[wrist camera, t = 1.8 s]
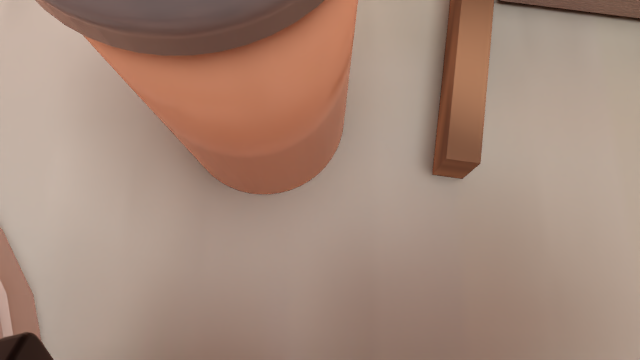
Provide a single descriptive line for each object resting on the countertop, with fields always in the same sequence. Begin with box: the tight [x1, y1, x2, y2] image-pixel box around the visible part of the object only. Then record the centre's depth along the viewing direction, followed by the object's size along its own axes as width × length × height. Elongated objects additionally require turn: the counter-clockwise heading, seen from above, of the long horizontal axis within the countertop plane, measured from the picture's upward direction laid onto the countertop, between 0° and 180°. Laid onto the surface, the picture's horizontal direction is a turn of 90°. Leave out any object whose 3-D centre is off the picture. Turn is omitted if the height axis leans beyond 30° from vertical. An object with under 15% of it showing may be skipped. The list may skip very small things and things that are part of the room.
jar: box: [35, 0, 358, 194], centre depth 15 cm, size 7×7×14 cm
